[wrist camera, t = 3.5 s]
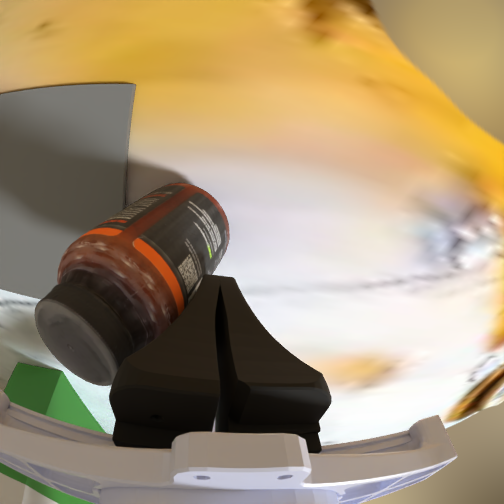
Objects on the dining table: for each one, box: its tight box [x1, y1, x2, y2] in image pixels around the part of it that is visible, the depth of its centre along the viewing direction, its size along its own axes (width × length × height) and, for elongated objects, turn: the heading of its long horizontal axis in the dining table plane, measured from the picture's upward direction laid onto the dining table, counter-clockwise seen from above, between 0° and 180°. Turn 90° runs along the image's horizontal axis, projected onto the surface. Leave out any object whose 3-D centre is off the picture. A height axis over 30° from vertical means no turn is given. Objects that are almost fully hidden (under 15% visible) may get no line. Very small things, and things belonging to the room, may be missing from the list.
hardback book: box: [0, 362, 106, 504], centre depth 20 cm, size 18×7×24 cm, turn 179°
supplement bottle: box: [35, 183, 229, 386], centre depth 13 cm, size 6×6×11 cm
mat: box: [0, 84, 136, 299], centre depth 17 cm, size 17×15×1 cm
